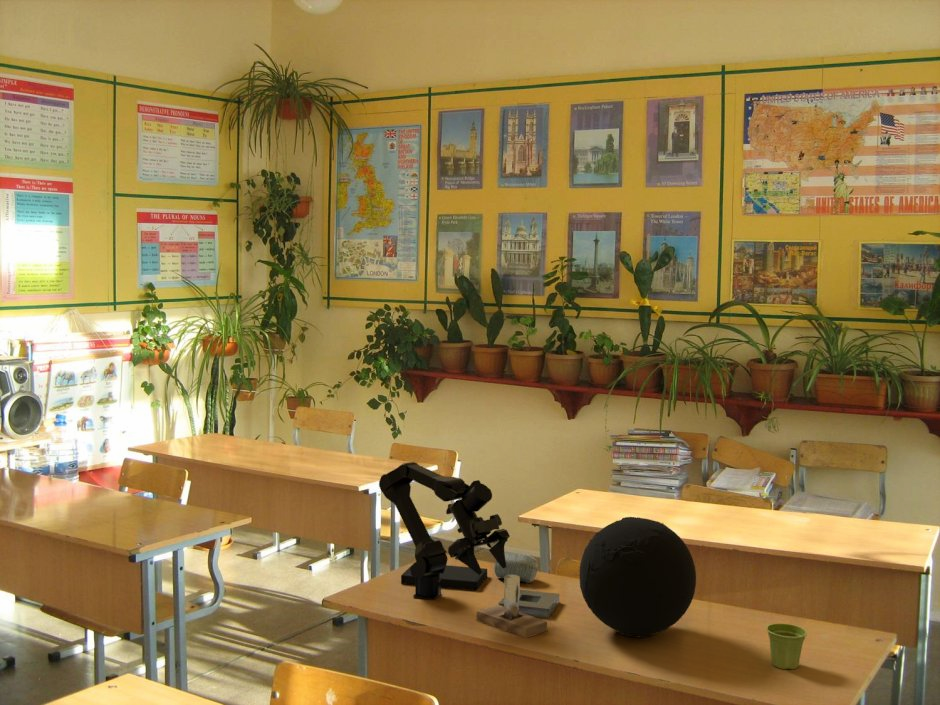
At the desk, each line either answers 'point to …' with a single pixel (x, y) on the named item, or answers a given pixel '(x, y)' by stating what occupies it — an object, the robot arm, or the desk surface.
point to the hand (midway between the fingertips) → (492, 570)
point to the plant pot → (786, 644)
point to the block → (536, 603)
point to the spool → (518, 567)
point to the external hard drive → (453, 578)
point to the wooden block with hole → (512, 621)
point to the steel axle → (511, 596)
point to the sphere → (637, 576)
